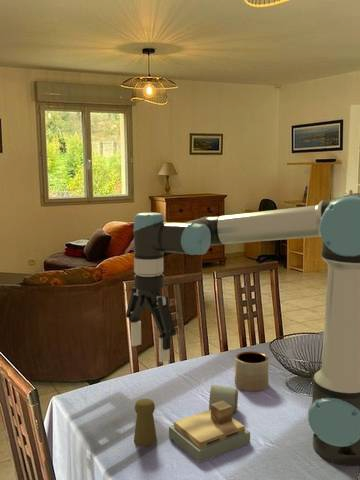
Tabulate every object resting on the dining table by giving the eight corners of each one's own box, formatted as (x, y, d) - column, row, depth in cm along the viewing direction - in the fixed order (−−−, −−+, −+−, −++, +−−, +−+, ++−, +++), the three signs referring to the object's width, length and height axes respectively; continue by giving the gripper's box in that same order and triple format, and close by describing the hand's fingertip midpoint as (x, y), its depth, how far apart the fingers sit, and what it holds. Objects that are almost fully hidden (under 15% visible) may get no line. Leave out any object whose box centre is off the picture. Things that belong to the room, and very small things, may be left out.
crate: (231, 420, 133) (232, 406, 132) (219, 424, 131) (219, 410, 130) (222, 414, 136) (222, 400, 135) (210, 418, 134) (210, 404, 133)
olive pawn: (148, 449, 128) (147, 408, 126) (129, 442, 131) (128, 402, 129) (161, 438, 133) (160, 399, 131) (142, 432, 136) (142, 393, 134)
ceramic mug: (237, 418, 143) (237, 392, 142) (208, 416, 144) (208, 391, 143) (238, 401, 153) (238, 377, 152) (211, 400, 154) (211, 376, 153)
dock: (250, 442, 130) (250, 432, 130) (199, 462, 122) (199, 451, 121) (217, 420, 142) (217, 410, 141) (168, 436, 133) (168, 426, 133)
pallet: (244, 431, 130) (244, 426, 130) (200, 448, 123) (200, 442, 122) (216, 412, 140) (216, 407, 140) (174, 426, 133) (174, 421, 132)
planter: (273, 382, 166) (274, 355, 164) (260, 395, 157) (260, 366, 155) (243, 375, 172) (243, 348, 170) (228, 387, 163) (229, 359, 161)
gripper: (190, 280, 121) (189, 364, 124) (136, 263, 141) (137, 336, 144) (164, 284, 117) (164, 371, 120) (112, 266, 137) (114, 341, 140)
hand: (149, 352), depth 132 cm, fingers open, 13 cm apart
